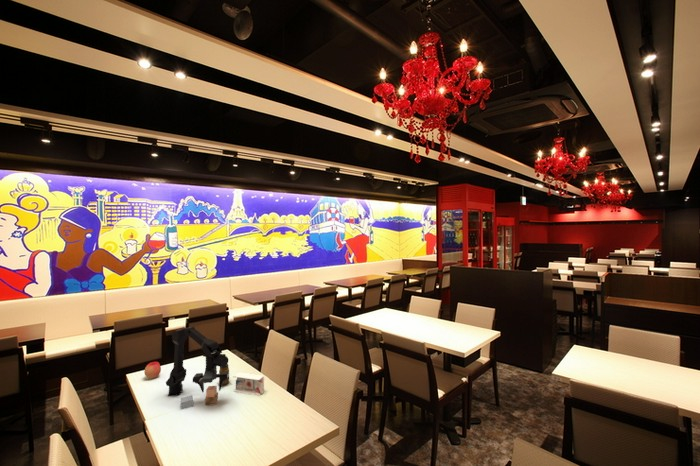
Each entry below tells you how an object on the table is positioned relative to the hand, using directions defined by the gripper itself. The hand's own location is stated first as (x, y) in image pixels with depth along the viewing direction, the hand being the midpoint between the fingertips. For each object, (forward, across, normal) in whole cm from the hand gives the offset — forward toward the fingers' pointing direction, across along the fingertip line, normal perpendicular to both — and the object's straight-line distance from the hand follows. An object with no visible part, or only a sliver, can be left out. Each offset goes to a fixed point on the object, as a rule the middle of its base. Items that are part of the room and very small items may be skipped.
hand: (211, 391), depth 179 cm
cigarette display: (+6, +20, +9) cm, 23 cm away
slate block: (+6, -13, -1) cm, 15 cm away
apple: (+6, -49, +41) cm, 64 cm away
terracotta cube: (+2, 0, 0) cm, 2 cm away
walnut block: (+6, 0, 0) cm, 6 cm away
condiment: (+6, +2, +22) cm, 23 cm away
